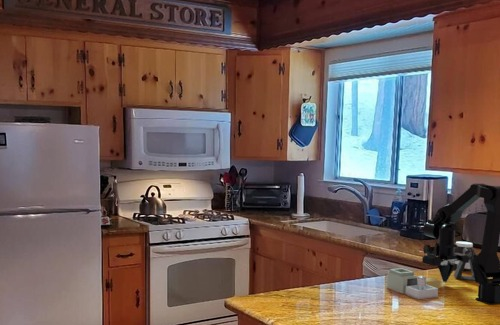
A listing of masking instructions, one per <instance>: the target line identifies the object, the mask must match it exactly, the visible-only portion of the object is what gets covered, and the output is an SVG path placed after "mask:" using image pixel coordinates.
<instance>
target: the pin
mask: <svg viewBox="0 0 500 325" xmlns="http://www.w3.org/2000/svg"><path fill="white" fill-rule="evenodd" d="M416 278H417V290H424V289H426V278H427V276H424V275H418V276H417V275H416Z"/></svg>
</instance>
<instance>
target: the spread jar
mask: <svg viewBox="0 0 500 325" xmlns="http://www.w3.org/2000/svg"><path fill="white" fill-rule="evenodd" d="M455 244H457V247H454V253H460V254H463V249H464V248H466V249H467V250H468V251H467V252H466V255H467V254H469V253H470V250H471V251H472V252H473V256H474V254H477V252H476V250H475V249H474V248H473V247H474V244H473V242H469V241H463V240H462V241H456V242H455ZM468 248H469V249H470V250H469V249H468ZM459 262H460V260H458V261H455V264H459ZM456 269H457V266H456V267H455V269H454V270H456ZM463 272H471V267H470V263H466V264H465V267H464V270H463Z"/></svg>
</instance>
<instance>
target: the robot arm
mask: <svg viewBox="0 0 500 325" xmlns="http://www.w3.org/2000/svg"><path fill="white" fill-rule="evenodd" d="M480 198H482V199H483V204H484V206H485V209H486V216H485V223H484V230H483V238H482V242H481V249H480V252H479V253H476V254H474V256H473V263H472V266H473V272H474V277H475V281H474V282H475V283H477V284H478V285H477V287H478V288H477V297H475V300H477V301H479V302H482V303H484V304H489V305H498V304H500V257H499V255H498V249H499V242H500V185H489V184H486V183H482V182H481V183H479V182H477V183H476V182H475V183H472V184H470V186H469V188H467V190H465V191H464V192H463V193H462V194H461V195H459V196H458V197H457V198H456V199H455V200H453V201H452V202H451V203H448V204H446V205H443V206H442V207H440V208H438V209H437V211H436V214H435V215H434V216H433V218H432V219H427V222H426V223H424V225H423V227H422V234H424V236H426V237H430V238H434V239H438V241H437V242H435V245H434V246H431V245H430V244H425V245H423V247H422V248H423V249H422V250H423V254H426V255H423V256H422V257H421V258H422V259H421V263H422V264H426V265H430V266H433V267H437V268H438V270H439V273H440V276H441V280H442V282H443V283H447V282H448V280H449V278H450V276H452V275H451V274H452V273H453V272H454V270H456V269H455V267H456V266H458V264H455V261H458V260H460V261H462V263H469V257H468V256H467V255H464V254H460V253H454V247H457V244H456V242H455V240H456V238H455V237H456V231H457V232H458V231H460V228H459V227H458V225H457V224H456V223H457V222H458V221H459V220H460V219H461V218H462V215H463V212H464V211H465V210H467V209H468V208H469V207H471V205H473V204H474V203H476V201H478V199H480Z"/></svg>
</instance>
